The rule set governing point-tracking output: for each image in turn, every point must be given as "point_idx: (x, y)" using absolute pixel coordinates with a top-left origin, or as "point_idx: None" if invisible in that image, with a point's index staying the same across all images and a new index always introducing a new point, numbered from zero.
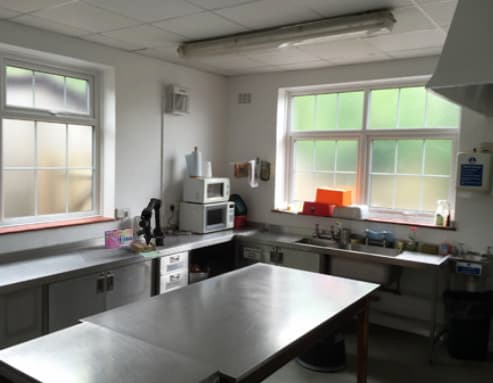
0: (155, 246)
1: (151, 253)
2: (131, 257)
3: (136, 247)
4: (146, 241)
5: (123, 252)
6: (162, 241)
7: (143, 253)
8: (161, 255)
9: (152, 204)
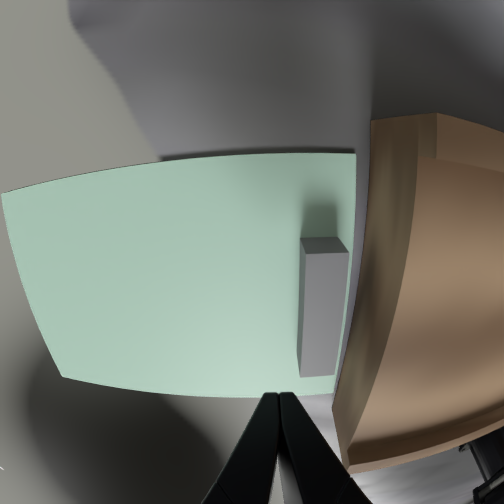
0: (343, 452)
1: (193, 337)
2: (77, 11)
3: (426, 128)
4: (206, 496)
5: (472, 4)
6: (480, 463)
7: (249, 228)
8: (65, 376)
9: None
